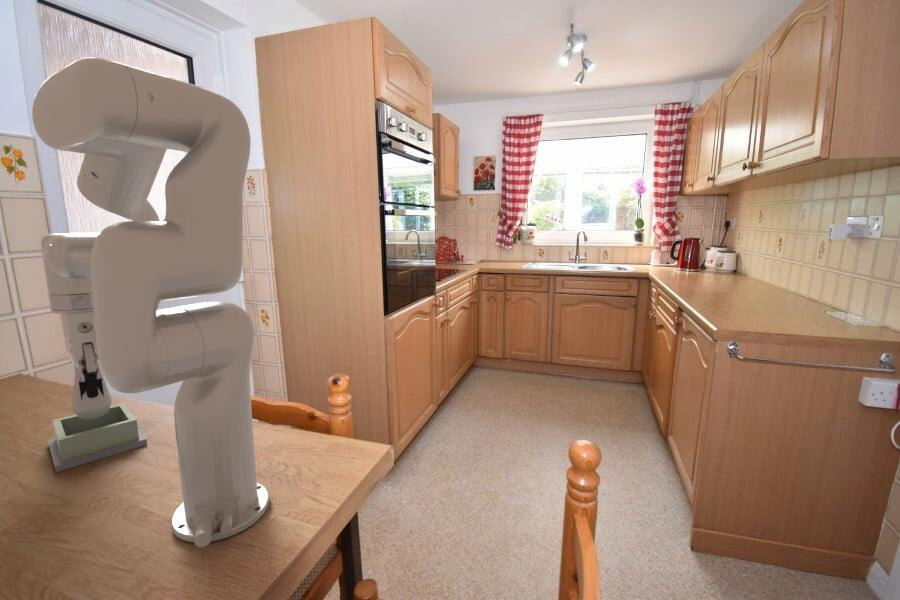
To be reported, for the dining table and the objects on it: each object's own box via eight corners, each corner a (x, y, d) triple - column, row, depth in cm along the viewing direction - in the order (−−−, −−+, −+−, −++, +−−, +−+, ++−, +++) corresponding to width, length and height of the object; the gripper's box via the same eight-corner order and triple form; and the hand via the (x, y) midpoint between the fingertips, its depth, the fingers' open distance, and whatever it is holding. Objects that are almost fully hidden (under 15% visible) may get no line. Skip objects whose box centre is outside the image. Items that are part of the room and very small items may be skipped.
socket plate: (147, 444, 81) (144, 419, 80) (55, 472, 71) (51, 444, 71) (132, 423, 90) (129, 400, 89) (48, 445, 80) (44, 420, 79)
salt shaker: (90, 423, 76) (80, 354, 74) (65, 420, 77) (55, 352, 75) (121, 409, 82) (113, 346, 80) (97, 407, 83) (88, 343, 81)
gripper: (113, 305, 73) (125, 404, 76) (97, 294, 84) (108, 381, 87) (54, 311, 68) (70, 417, 71) (45, 298, 78) (59, 390, 82)
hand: (91, 396), depth 79 cm, fingers closed on salt shaker, 3 cm apart
